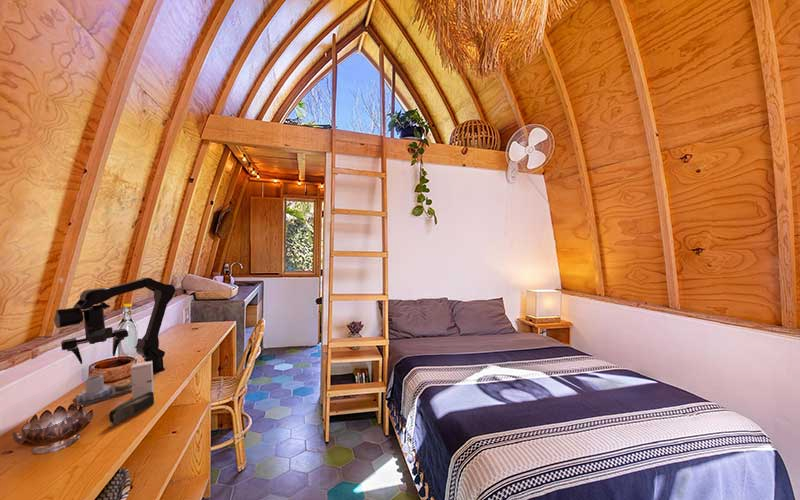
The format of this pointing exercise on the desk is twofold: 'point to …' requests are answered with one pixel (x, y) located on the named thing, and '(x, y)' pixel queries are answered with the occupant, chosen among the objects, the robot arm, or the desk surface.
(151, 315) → the robot arm
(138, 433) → the desk surface
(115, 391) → the carrier plate
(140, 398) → the mobile phone
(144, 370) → the skincare box
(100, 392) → the grey stepped block
